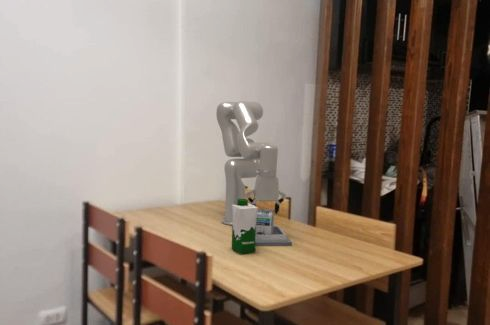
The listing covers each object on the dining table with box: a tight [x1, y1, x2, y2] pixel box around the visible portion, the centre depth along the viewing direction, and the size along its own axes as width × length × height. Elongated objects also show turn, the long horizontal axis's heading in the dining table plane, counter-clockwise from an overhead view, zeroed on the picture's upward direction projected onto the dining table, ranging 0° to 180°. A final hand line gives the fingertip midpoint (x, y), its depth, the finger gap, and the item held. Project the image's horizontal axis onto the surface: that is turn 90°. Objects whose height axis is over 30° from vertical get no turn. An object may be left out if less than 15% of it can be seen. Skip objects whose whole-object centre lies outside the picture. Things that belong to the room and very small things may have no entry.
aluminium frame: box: [255, 225, 288, 241], centre depth 187 cm, size 15×15×2 cm
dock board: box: [255, 232, 293, 247], centre depth 187 cm, size 19×19×2 cm
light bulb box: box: [256, 208, 275, 235], centre depth 186 cm, size 11×7×11 cm, turn 171°
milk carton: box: [231, 198, 259, 255], centre depth 170 cm, size 9×9×20 cm
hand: (265, 213), depth 187 cm, fingers open, 9 cm apart
